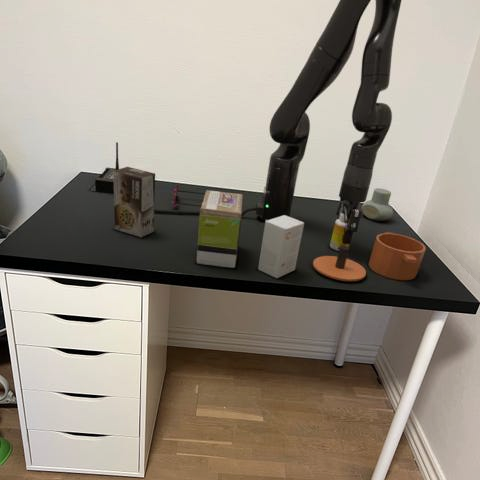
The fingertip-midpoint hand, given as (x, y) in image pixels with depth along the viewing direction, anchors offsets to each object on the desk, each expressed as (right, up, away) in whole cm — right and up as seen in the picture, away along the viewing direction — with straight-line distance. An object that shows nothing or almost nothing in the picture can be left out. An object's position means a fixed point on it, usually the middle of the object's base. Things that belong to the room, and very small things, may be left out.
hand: (342, 237), depth 137 cm
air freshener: (+18, +12, +31) cm, 38 cm away
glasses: (-44, +13, +18) cm, 49 cm away
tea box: (-36, -7, -13) cm, 39 cm away
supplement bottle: (-1, -3, +2) cm, 4 cm away
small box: (-20, -11, -17) cm, 29 cm away
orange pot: (+12, -10, -7) cm, 17 cm away
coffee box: (-59, +1, -6) cm, 59 cm away
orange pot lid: (-4, -10, -12) cm, 17 cm away
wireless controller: (-72, +21, +23) cm, 78 cm away
